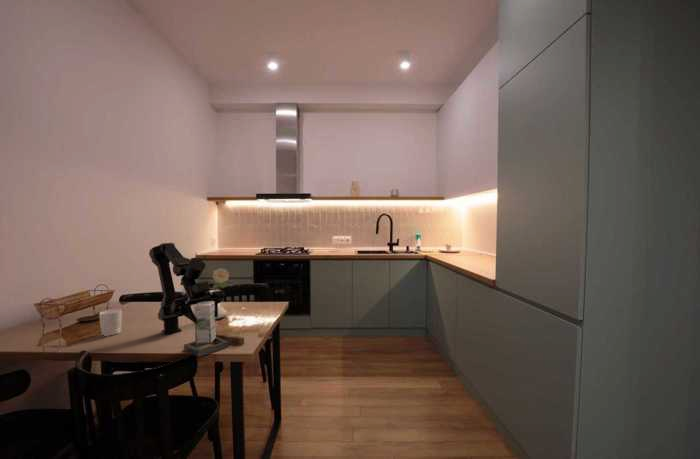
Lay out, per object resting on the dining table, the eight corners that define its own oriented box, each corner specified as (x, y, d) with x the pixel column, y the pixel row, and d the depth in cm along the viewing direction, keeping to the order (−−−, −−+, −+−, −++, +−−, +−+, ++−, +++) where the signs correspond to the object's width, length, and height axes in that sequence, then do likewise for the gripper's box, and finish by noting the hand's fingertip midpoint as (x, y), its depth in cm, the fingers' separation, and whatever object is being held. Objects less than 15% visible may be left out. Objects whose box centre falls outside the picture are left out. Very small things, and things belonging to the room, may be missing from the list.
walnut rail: (204, 338, 126) (204, 332, 126) (207, 337, 127) (207, 331, 127) (241, 345, 117) (240, 338, 117) (244, 343, 119) (243, 337, 119)
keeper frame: (184, 349, 115) (183, 344, 115) (213, 340, 123) (213, 335, 123) (198, 357, 107) (197, 351, 107) (228, 346, 116) (228, 341, 116)
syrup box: (216, 337, 119) (214, 300, 119) (211, 343, 113) (209, 304, 113) (201, 338, 118) (199, 301, 118) (194, 344, 112) (193, 305, 112)
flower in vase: (200, 322, 148) (198, 271, 147) (205, 315, 159) (203, 267, 158) (229, 319, 151) (227, 269, 151) (232, 313, 162) (230, 266, 162)
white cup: (126, 332, 137) (125, 309, 137) (106, 338, 130) (105, 314, 130) (116, 330, 141) (115, 308, 140) (96, 335, 133) (95, 313, 133)
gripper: (172, 277, 110) (186, 313, 104) (221, 270, 125) (237, 301, 118) (164, 296, 115) (178, 331, 109) (212, 287, 130) (227, 317, 123)
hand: (206, 319), depth 115 cm, fingers closed on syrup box, 8 cm apart
